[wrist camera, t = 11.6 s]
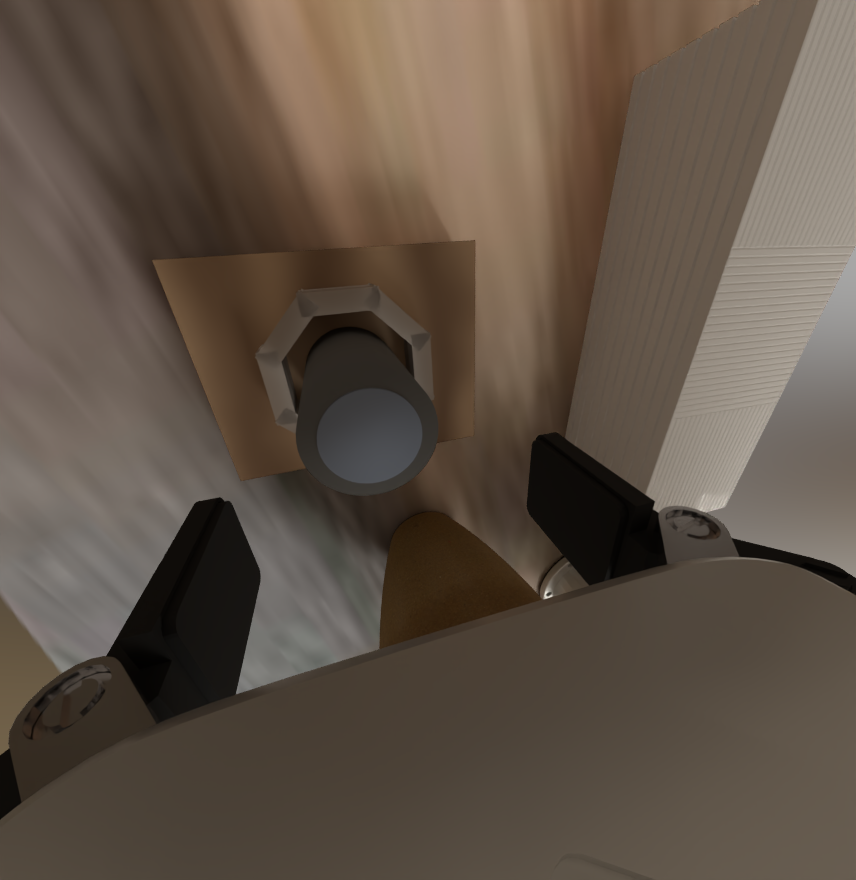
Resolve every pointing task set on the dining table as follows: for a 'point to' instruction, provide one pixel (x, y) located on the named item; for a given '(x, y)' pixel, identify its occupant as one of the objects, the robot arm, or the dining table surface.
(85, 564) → the dining table surface
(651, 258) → the stack of papers
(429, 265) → the wooden block
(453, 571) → the plant pot
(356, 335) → the lens
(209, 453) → the dining table surface
